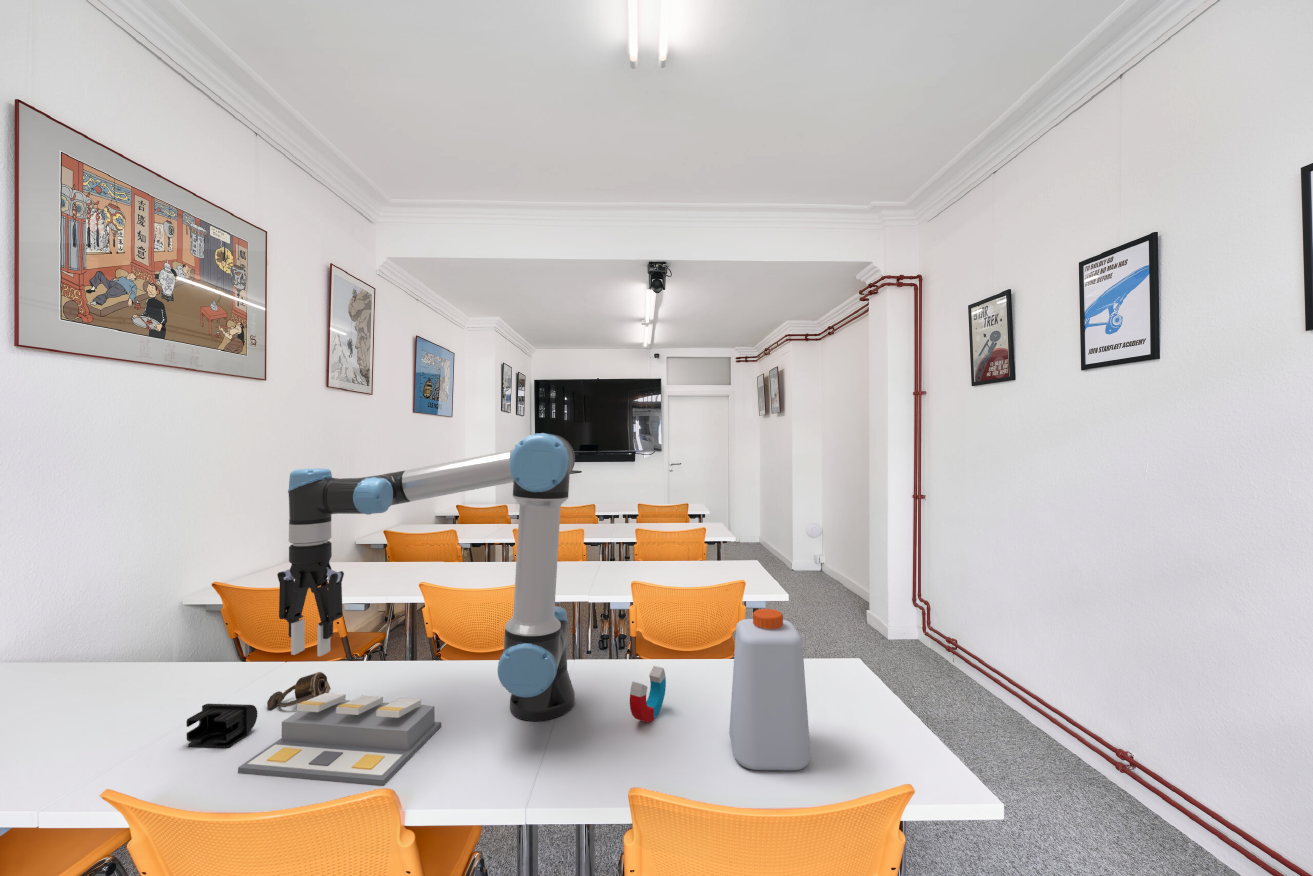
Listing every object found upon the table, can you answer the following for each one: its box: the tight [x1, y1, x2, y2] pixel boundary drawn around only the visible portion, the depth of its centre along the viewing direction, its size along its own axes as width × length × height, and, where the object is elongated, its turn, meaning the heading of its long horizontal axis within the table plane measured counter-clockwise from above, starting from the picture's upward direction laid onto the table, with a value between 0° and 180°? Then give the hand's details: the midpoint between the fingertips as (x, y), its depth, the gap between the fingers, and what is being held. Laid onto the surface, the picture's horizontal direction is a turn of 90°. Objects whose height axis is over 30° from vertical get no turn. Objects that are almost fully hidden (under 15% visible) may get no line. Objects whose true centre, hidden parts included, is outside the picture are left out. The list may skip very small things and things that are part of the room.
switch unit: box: [237, 699, 442, 786], centre depth 109 cm, size 30×20×5 cm, turn 83°
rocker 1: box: [296, 692, 347, 712], centre depth 114 cm, size 5×8×1 cm, turn 173°
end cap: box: [186, 703, 258, 749], centre depth 113 cm, size 10×7×7 cm
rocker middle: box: [336, 695, 384, 715], centre depth 113 cm, size 5×8×1 cm, turn 173°
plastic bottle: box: [728, 608, 812, 772], centre depth 108 cm, size 15×15×28 cm
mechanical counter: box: [266, 671, 332, 710], centre depth 128 cm, size 7×13×10 cm
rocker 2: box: [376, 697, 422, 718], centre depth 112 cm, size 5×8×1 cm, turn 173°
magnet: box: [629, 665, 667, 723], centre depth 120 cm, size 12×3×10 cm, turn 150°
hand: (310, 652), depth 111 cm, fingers open, 5 cm apart
